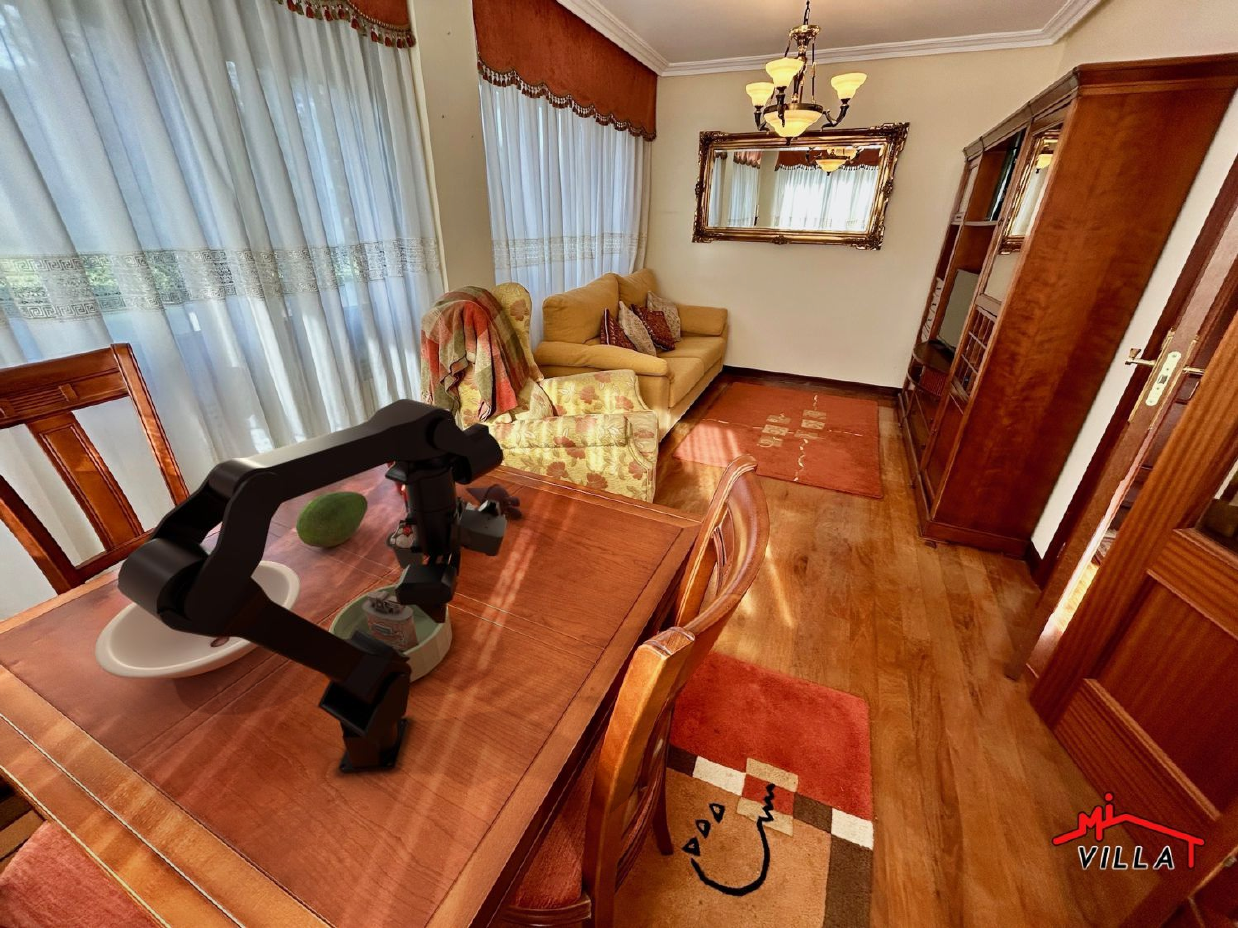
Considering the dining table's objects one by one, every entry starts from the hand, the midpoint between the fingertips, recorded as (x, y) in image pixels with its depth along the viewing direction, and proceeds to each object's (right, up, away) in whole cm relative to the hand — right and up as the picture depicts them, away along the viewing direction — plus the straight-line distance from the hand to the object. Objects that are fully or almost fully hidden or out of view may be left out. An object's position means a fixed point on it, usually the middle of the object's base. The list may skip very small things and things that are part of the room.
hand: (448, 597), depth 69 cm
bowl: (-11, -10, +8) cm, 17 cm away
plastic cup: (-27, +12, +52) cm, 59 cm away
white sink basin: (-38, -9, +8) cm, 40 cm away
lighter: (-11, -10, +8) cm, 17 cm away
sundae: (-13, -4, +22) cm, 26 cm away
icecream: (-5, +7, +44) cm, 45 cm away
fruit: (-34, +3, +34) cm, 48 cm away
